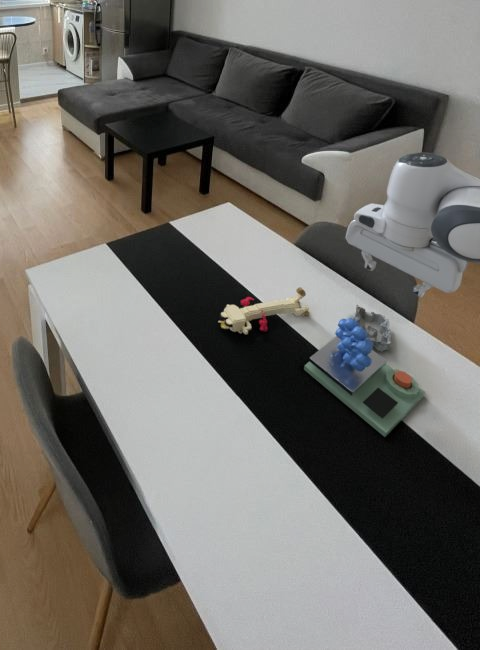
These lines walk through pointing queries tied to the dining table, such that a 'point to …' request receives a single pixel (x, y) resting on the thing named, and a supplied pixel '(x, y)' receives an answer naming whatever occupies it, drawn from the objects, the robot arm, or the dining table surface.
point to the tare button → (402, 379)
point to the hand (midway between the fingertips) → (392, 280)
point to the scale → (379, 380)
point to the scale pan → (353, 375)
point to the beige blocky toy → (260, 312)
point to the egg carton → (374, 327)
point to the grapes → (354, 344)
